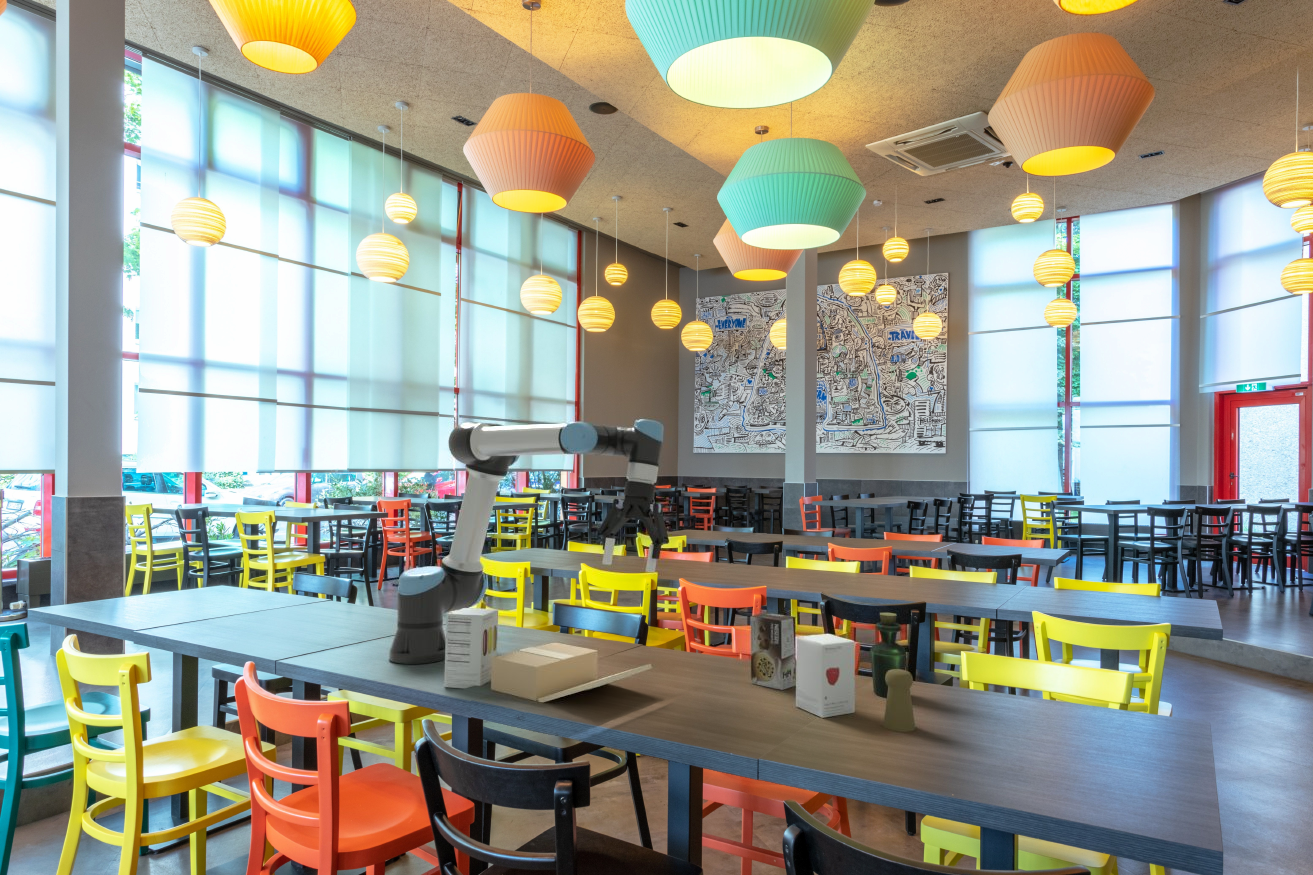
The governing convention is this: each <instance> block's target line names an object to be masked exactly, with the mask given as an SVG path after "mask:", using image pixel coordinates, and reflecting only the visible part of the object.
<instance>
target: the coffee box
mask: <svg viewBox="0 0 1313 875" xmlns="http://www.w3.org/2000/svg"><path fill="white" fill-rule="evenodd" d="M796 621H797V620H796V616H792V615H784V614H778V613H772V612H760V613H758V614H754V615H751V616H750V683H751V684H752V685H756V686H757V685H758V686H763V687H766V688H771V689H776V690H781V691H784V690H786V689H789V688H792V687H796V658H797V634H796V629H797V628H796V627H797V626H796V624H797V623H796Z"/></svg>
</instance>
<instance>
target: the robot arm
mask: <svg viewBox="0 0 1313 875" xmlns="http://www.w3.org/2000/svg"><path fill="white" fill-rule="evenodd" d="M664 428H665V427H664V425H663V423H661V422H659V421H657V420H652V419H645V418H641V419H636V420H635V421H634V424H633V426H632V427H629V426H628V427H625V426H617V425H616V426H615V425H608V424H598V423H590V422H586V421H571V422H569V423H566V422H565V423H547V424H546V423H544V424H543V423H542V424H527V425H526V424H524V425H523V424H522V425H520V424H519V425H503V424H500V423H491V422H489V423H488V422H478V421H465V422H462V423H460V424H458V425H456V426H455V427H454V428H453V429H452V431H451V432H450V434H449V437H448V443H447V444H448V449H449V451H450V454H451V456H452V457H453V458H454V459H455V460H457V461H458V462H460V463H462V464H463V465H464V464H465V469H466V471H467V472H468V477H467V482H466V485H465V489H464V493H463V497H462V503H461V506H460V510H459V515H458V518H457V523H456V526H455V530H454V535H453V537H452V538H453V539H452V543H451V547H450V551H449V554H448V555H446V556H444V557H443V559H442V560H441V565H440V566H434V565H433V566H431V565H430V566H422V567H414V568H411V569H410V568H409V569H407V570H405V571H404V572H402V573H401V574H400V576H399V579H398V586H397V619H396V620H397V626H396V628H397V629H396V632H395V635H394V637H393V641H392V643H391V646H390V647H389V648H390V649H389V651H388V652H389V656H388V658H389V661H391V662H392V663H397V664H403V665H405V664H406V665H419V664H429V663H430V664H431V663H435V662H436V663H437V662H439V661H443V660H444V661H445V646H446V632H445V630H444V627H443V626H444V624H443V623H444V614H448V613H452V612H454V611H457V610H460V609H462V608H473V607H474V606H476V605H478V604H479V603H480V602H481V601H482V599H484V596H485V595H486V592H487V588H488V581H487V579H486V574H485V573H484V565H483V564H482V561H481V557H482V553H483V548H484V544H485V540H486V537H487V532H488V528H489V524H490V520H491V517H492V512H493V508H494V504H495V501H496V497H497V496H496V495H497V492H498V488H499V486H500V481H501V480H502V479H504V478H506V477H507V475H508V470H509V469H510V468H509V467H511V466H512V465H514V464H515V463H517V461H518V460H519V459H520V456H539V455H542V456H543V455H550V456H551V455H596V456H597V455H599V456H612V457H613V456H614V457H623V458H624V457H626V458H628V464H627V471H626V479H627V480H626V482H625V485H624V489H623V490H624V491H623V495H624V499H623V500H622V499H619V498H614V499H613V501H612V506H611V508H610V509H609V511H608V513H607V515H606V517H605V518H604V520H603V522H602V523H601V525H600V527H599V529H598V531H597V532H598V534H600V535H602V536H603V542H602V551H603V556H602V562H601V564H602V565H607V566H608V565H609V566H611V565H612V563H613V557H614V556H613V555H614V551H615V550H614V549H615V543H616V538H615V537H614V536H615V535H616V534H617V533H618V532H619V531H620V530H621V528H622V527H623V526H624V525H625V524H626V523H627V522H628V521H630V520H637V521H641V522H642V523H643V526H644V527H645V530H646V533H647V534H648V536H649V539H650V541H651V543H650V544H649V548H648V552H647V560H646V566H645V573H651V574H652V573H653V574H655V573H656V566H657V560H659V559H660V555H661V549H662V546H664V545H668V544H669V543H670V539H669V535H668V531H667V526H666V522H665V518H664V515H663V512H664V511H663V510H664V507H663V506H664V505H663V504H661V503H657V502H656V503H655V502H654V503H653V500H654V499H655V494H656V485H655V483H657V480H658V472H659V465H660V464H659V463H660V458H661V453H662V448H663V447H662V446H663V443H664V431H665V430H664ZM622 509H623V510H622ZM651 512H652V515H651ZM653 521H654V522H653Z"/></svg>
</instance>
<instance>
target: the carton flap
mask: <svg viewBox="0 0 1313 875" xmlns="http://www.w3.org/2000/svg"><path fill="white" fill-rule="evenodd" d="M651 669H653V667H652V664H651V663H648V664H645V665H641V666H639V667H635V668H631V669H628V670H626V671H622V672H619V673H616V674H612V675H609V676H606V677H602V678H598V679H597V680H595V681H592V682H589V683H586V684H583V685H580V686H577V687H573V688H570V689H567V690H564V691H561V692H558V693H554V694H551V695H548V696H545V697H542V698H539V699H538V700H537V702H538V703H539V702H540V703H542V704H543V703H545V702H549V701H552V700H556V699H559V698H561V697H565V696H568V695H569V696H570V695H573V694H576V693H579V692H582V691H589V690H592V689H594V688H598V687H601V686H604V685H607V684H610V683H613V682H617V681H618V680H623V679H626V678H628V677H632V676H633V675H636V674H638V673H642V672H645V671H647V670H648V671H649V670H651Z"/></svg>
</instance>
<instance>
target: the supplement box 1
mask: <svg viewBox="0 0 1313 875" xmlns="http://www.w3.org/2000/svg"><path fill="white" fill-rule="evenodd" d="M445 614H446V616H445V637H446V646H445V659H444V683H443V684H444V685H443V687H444V688H453V689H454V688H455V689H467V688H472V687H474V686H475V687H481V686H483V685H485V684H486V683H489V682H490V683H491V669H492V657H495V656H498V640H499V639H498V638H499V637H498V634H499V609H496V608H477V607H476V608H474V607H469V608H462V609H460V610H456V611H452V612H447V613H445Z"/></svg>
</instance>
